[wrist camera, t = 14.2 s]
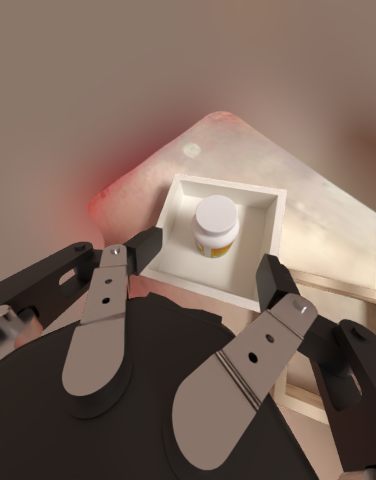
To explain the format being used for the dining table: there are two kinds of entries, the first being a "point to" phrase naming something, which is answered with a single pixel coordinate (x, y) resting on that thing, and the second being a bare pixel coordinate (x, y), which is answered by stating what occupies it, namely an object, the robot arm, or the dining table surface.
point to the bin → (241, 251)
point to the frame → (282, 390)
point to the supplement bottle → (215, 225)
